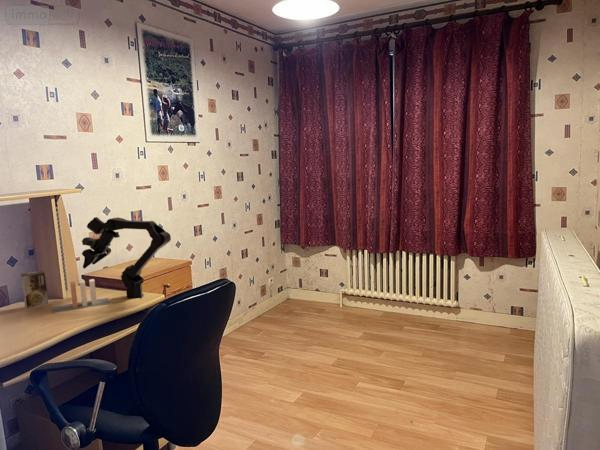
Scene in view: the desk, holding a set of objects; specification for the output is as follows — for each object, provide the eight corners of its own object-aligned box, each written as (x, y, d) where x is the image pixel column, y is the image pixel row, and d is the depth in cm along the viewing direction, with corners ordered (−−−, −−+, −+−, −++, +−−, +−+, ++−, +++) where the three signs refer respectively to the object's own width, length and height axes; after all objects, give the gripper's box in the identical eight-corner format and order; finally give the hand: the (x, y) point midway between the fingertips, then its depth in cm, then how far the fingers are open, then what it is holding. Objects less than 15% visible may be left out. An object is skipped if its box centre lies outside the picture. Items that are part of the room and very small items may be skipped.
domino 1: (77, 304, 208) (74, 281, 207) (77, 307, 204) (75, 283, 202) (72, 305, 207) (70, 282, 206) (72, 308, 203) (70, 284, 201)
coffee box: (46, 302, 214) (42, 270, 212) (49, 305, 210) (45, 272, 207) (24, 307, 209) (20, 273, 207) (26, 310, 204) (22, 276, 202)
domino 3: (96, 301, 212) (93, 278, 210) (96, 304, 207) (94, 281, 206) (91, 302, 211) (89, 279, 209) (92, 304, 207) (89, 281, 205)
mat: (107, 299, 217) (107, 297, 217) (110, 304, 208) (110, 303, 207) (52, 308, 206) (51, 306, 206) (51, 314, 196) (51, 313, 196)
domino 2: (86, 302, 210) (84, 280, 208) (87, 305, 206) (85, 282, 204) (82, 303, 209) (79, 280, 207) (82, 306, 205) (80, 283, 203)
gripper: (99, 228, 225) (84, 253, 227) (81, 233, 206) (64, 260, 208) (118, 240, 225) (102, 265, 227) (101, 246, 207) (84, 273, 209)
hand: (88, 266), depth 218 cm, fingers open, 9 cm apart
